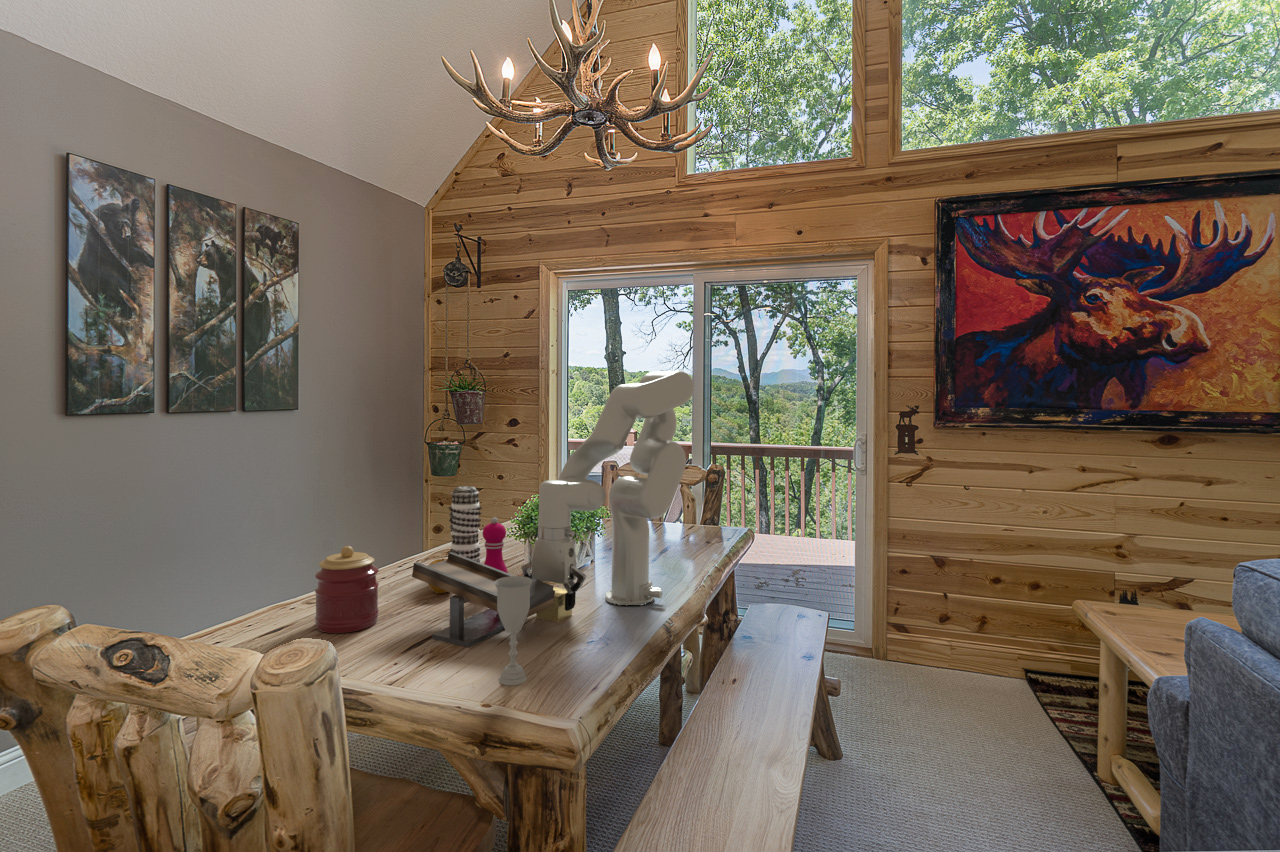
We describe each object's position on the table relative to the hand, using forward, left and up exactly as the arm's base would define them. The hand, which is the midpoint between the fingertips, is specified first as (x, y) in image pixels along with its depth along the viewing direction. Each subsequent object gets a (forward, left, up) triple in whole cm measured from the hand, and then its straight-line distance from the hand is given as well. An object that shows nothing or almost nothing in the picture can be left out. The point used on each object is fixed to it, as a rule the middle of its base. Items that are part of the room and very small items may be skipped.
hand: (551, 605), depth 150 cm
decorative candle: (+44, -21, -3) cm, 48 cm away
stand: (+10, +13, -3) cm, 17 cm away
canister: (+38, +25, -3) cm, 46 cm away
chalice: (-12, +31, -3) cm, 34 cm away
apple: (+36, -3, -3) cm, 36 cm away
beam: (+10, +13, +5) cm, 17 cm away
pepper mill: (+24, -9, -3) cm, 25 cm away
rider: (0, -1, -3) cm, 3 cm away
